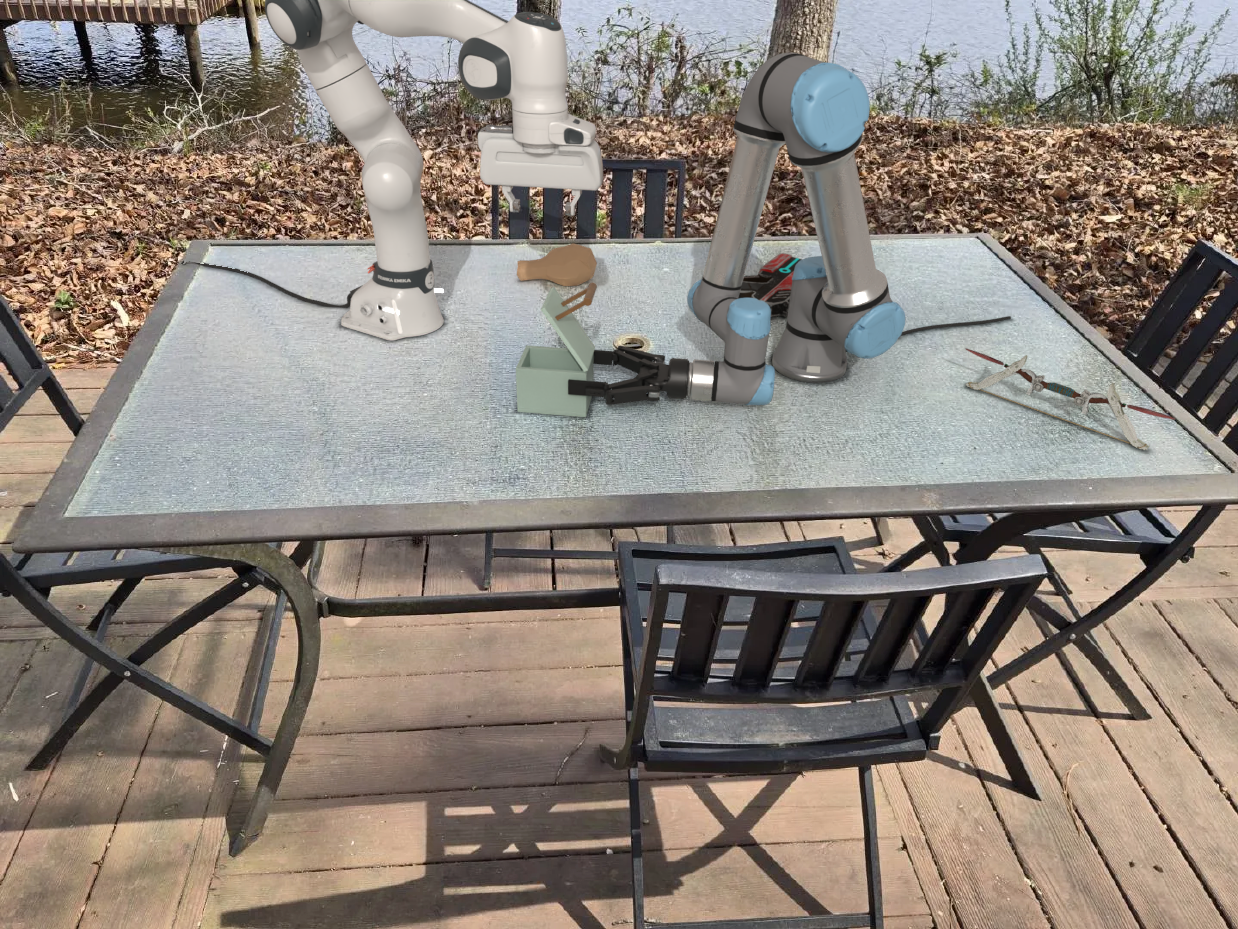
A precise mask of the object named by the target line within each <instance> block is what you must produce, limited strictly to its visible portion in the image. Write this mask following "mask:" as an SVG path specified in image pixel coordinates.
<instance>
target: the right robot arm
mask: <svg viewBox="0 0 1238 929" xmlns="http://www.w3.org/2000/svg"><path fill="white" fill-rule="evenodd" d="M870 105H871V103H870V96H869V93H868V90H867V88H866V86H865V84H864V83H863V81H862V79H861V78H860V77H859V76H858V75H856V73H854V72H852V71H851V70H848V69H847V68H845V67H844V66H842V65H840V64H838V63H832V62H826V61H822V60H818V59H816V58H813V57H811V56H807V55H804V54H803V53H798V52H783V53H779V54H776V55H773V57H770V58H768V59H767V60H765V62H763V63H762V64H761V65H760V66H758V69H756V70H755V72H754V73H753V75H752V77H751V78H750V80H749V81H748V83H747V85H746V88H745V90H744V93H743V94H742V98H741V99H740V102H739V105H738V108H737V113H736V116H735V120H734V124H733V127H732V128H733V129H732V131H733V132H734V134H735V136H736V140H735V144H734V149H733V153H732V157H731V161H730V166H729V169H728V172H727V177H726V181H725V185H724V189H723V193H722V197H721V201H720V205H719V209H718V213H717V218H716V220H715V225H714V229H713V233H712V237H711V242H710V246H709V249H708V253H707V258H706V261H705V265H704V269H703V273H702V278H700V279H698V280H696V281H695V282H694V283H693V285H692V286H691V288H690V289H689V290H688V292H687V296H686V297H687V298H686V301H687V306H688V308H689V310H690V312H691V313H692V314H693V315H694V316H695V317H696V319H697V320H698V321H700V322H701V323H703V324H704V325H705V326H706V327H707V328H709V329H710V330H711V331H712V332H713V333H714V334H715V335H716V336H717V337H718V338H719V339H721V340H722V342H724V351H723V361H722V360H721V361H718V360H709V359H693V360H692V362H691V361H690V359H688V358H679V357H671V358H670V359H669V362H668V364H666V356H665V355H664V354H656V353H655V354H654V353H650V352H647V351H643V350H640V349H637V348H632V347H629V346H625V345H618V346H617V349H613V350H603V349H595V350H594V365H599V366H600V365H601V366H612V367H616V366H617V365H618V366H620V367H622V368H624V369H627V370H629V371H631V372H634V373H635V374H636V375H635V377H632V378H628V379H624V380H620V381H617V382H612V383H608V382H607V381H596V380H593V381H584V380H571V379H569V380H568V394H570V395H582V396H592V397H594V398H603V400H604V401H605V405H607V406H615V405H622V404H630V403H639V402H646V401H648V402H659V401H660V396H661V395H660V394H661V392H664V393H665V392H666V397H667V398H668V399H671V400H686V399H687V397H689V399H690V401H700V402H702V403H705V402H712V403H713V402H714V403H724V404H736V405H744V406H767V405H769V404H770V403H771V402H772V400H773V398H774V397H773V396H774V391H775V379H776V371H777V372H778V373H779V374H780V375H782V376H784V377H786V378H789V379H791V380H794V381H798V382H802V383H808V384H809V383H810V384H824V383H830V382H835V381H837V380H839V379H841V378H842V377H844V376H845V374H846V372H847V367H848V357H847V353H849V354H851V355H854V356H855V357H857V358H860V359H864V360H865V359H866V360H867V359H869V360H870V359H873V358H877V357H879V356H881V355H883V354H884V353H886V352H888V351H889V350H890V349H891V348H892V347H893V346H895V344H896V343H897V341H898V340H899V338H900V337H901V336H906V335H908V334H913V333H916V332H917V333H918V332H922V331H927V330H934V329H941V328H951V327H962V326H972V325H973V326H974V325H984V324H990V323H996V322H1002V321H1008V320H1011V318H1012V317H1011V315H1007V316H1003V317H997V318H991V319H984V320H974V321H963V322H962V321H961V322H953V323H943V324H942V323H941V324H933V325H926V326H922V327H916V328H915V327H914V328H912V329H911V328H910V329H908V330H904V329H905V326H906V313H905V310H904V309H903V307H901V305H900V304H899V302H896V301H893V300H892V299H891V294H890V289H889V283H888V278H887V276H886V274H885V273H884V272H883V271H882V270H879V269H877V267H876V261H875V257H874V251H873V246H872V240H871V235H870V229H869V224H868V219H867V214H866V207H865V204H864V198H863V192H862V187H861V181H860V176H859V171H858V165H857V159H856V155H855V153H856V152H857V150H858V149H859V147H861V144H862V142H863V136H862V135H863V133H864V131H865V129H866V126H865V124H866V122H868V121H869V117H870V111H871V110H870V109H871V106H870ZM784 145H785V146H786V151H787V155H788V158H789V161H790V163H791V164H792V165H793V166H795V167H798V168H800V169H801V172H802V176H803V182H804V185H805V190H806V194H807V198H808V202H809V206H810V210H811V211H810V212H811V215H812V220H813V223H814V224H813V225H814V228H815V232H816V237H817V240H818V245H819V250H820V254H821V255H817V256H816V255H815V256H809V257H805V258H803V259H802V258H801V259H802V260H800V261H799V262H798V263H797V264H796V266H795V269H794V273H793V277H792V287H791V294H790V301H789V308H788V310H787V311H788V315H787V317H786V324H785V329H784V331H783V333H782V334H781V337H780V339H779V341H778V343H777V345H776V347H775V348H774V351H773V353H772V360H771V364H772V365H771V364H767V363H766V358H767V350H768V345H769V338H770V332H771V327H772V325H771V318H772V317H771V309H770V307H769V305H768V304H767V303H766V302H764V301H760V300H758V299H756V298H739V299H738V297H739V294H740V290H741V286H742V282H743V279H744V276H746V271H747V267H748V264H749V260H750V257H751V253H752V249H753V246H754V243H755V239H756V235H757V231H758V228H759V224H760V221H761V217H762V213H763V211H764V206H765V202H766V199H767V196H768V192H769V189H770V184H771V181H772V177H773V174H774V170H775V166H776V163H777V160H778V156H779V153H780V149H781V147H782V146H784Z"/></svg>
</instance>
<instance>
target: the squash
mask: <svg viewBox="0 0 1238 929" xmlns="http://www.w3.org/2000/svg"><path fill="white" fill-rule="evenodd" d="M516 264H517V269H516V276H517V278H518V279H519V281H520V282H523V281H528V280H545V281H551V282H552V283H555V284H558V285H559V286H563V287H577V286H580V285H582V284H584V283H585V282H588V281H590V280H591V279H593V277H594V276H595V272H596V270H597V265H598V261H597V260H596V258H595V254H594V252H593V250H592V248H591V247H587V246H584V245H581V244H577V243H574V242H572V243H569V244H566V245H564V246H558V247H554V248H552V249H551V250H550V251H549V252H548V253H547V254H546V255H545V256H543V257H541V258H538V259H529V260H527V259H526V260H523V259H521V260H518V261H517V263H516Z"/></svg>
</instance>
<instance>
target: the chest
mask: <svg viewBox="0 0 1238 929" xmlns="http://www.w3.org/2000/svg"><path fill="white" fill-rule="evenodd" d="M594 365H595V364H594V353H593V356H592V359H591V363H590V366H589V369H588V371H586V372H584V371H583V369H582V368H581V366H580V365H579V364H578V362H577V361H576V359H575V358H574V356H573V355H572V354H571V352H570V351H569V349H568V348H567V347H553V346H543V345H542V346H539V345H525V348H524V349H523V352H522V354H521V355H520V358H519V360H518V363H517V365H516V367H515V381H516V382H515V384H516V408H517V413H527V414H537V415H538V414H539V415H550V416H551V415H552V416H563V417H565V416H566V417H576V418H577V417H578V418H587V416H588V413H589V409H590V405H591V402H592V399H593V396H582V395H570V394H568V380H569V379H571V380H584V381H594V370H595V369H594V368H595V367H594Z"/></svg>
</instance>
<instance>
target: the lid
mask: <svg viewBox="0 0 1238 929" xmlns="http://www.w3.org/2000/svg"><path fill="white" fill-rule="evenodd" d="M597 289H598V285H597V283H595V282H593V281H592V282H589V284H588V287H586V288H584V289H582V290H580V291H579V292H577V293H575V294H574V295H571V296H569V297H568V298H566V299H565V300H564V299H563V297H562V295H561V294H560V293H559V291H558V290H557V289H556V287H555V286H553V287H550V288H549V290H548V293H547V295H546V297H545V299H544V302H543V304H542V306H541V308H540V311H541V312H542V314H543V315H544V317H545V318H546V320H547V321H548V322H549V324H550V325H551V327H552V328H553V329H554V331H555V332H556V334H557V335H558V337H559V338H560V339H561V341H562V342H563V344H564V345H565V346H566V348H568V349H569V351H570V352H571V354H572V355H573V356H574V358H575V359H576V361H577V362H578V364H579V365H580V366H581V368H582V369H583V371H584V372H586V371H588V369H589V366H590V363H591V359H592V356H593V353H594V350H596V345H595V343H593V341H592V340H591V338H590V337H589V335H588V334H587V332H586V331H585V330H584V328H583V327H582V325H581V324H580V322H579V321H578V320H577V318H576V317H575V314H574V312H576V311H577V310H579V309H581V308H583V307H589V306H591V305H592V303H593V300H594V298H595V295H596V292H597ZM583 296H584V297H583ZM581 297H583V299H582V301H580V302H578V303H576V304H575V305H573V306H571V307H569V306H568V305H569V304H570V303H572V302H574V301H576V300H578V299H579V298H581Z"/></svg>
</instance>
